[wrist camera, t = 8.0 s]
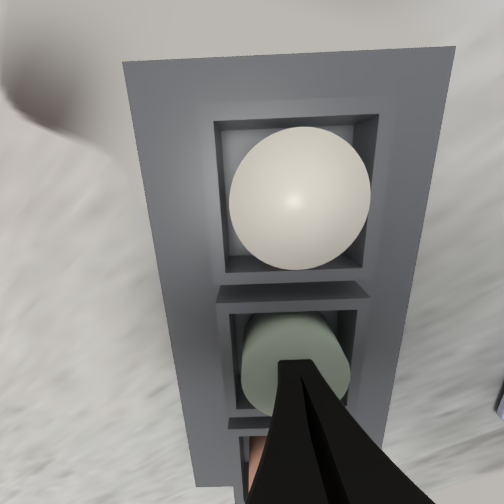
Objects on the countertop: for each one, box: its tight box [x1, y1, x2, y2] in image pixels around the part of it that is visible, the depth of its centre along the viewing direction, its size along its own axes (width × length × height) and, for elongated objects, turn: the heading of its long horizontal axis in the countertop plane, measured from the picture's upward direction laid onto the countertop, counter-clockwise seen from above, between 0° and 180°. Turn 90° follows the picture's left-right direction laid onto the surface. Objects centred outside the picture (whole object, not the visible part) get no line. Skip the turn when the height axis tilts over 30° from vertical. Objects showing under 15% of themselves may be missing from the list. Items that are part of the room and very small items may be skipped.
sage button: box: [241, 311, 351, 416], centre depth 11 cm, size 4×4×2 cm
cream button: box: [229, 127, 371, 270], centre depth 9 cm, size 4×4×2 cm
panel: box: [122, 46, 456, 504], centre depth 12 cm, size 12×24×4 cm, turn 2°
